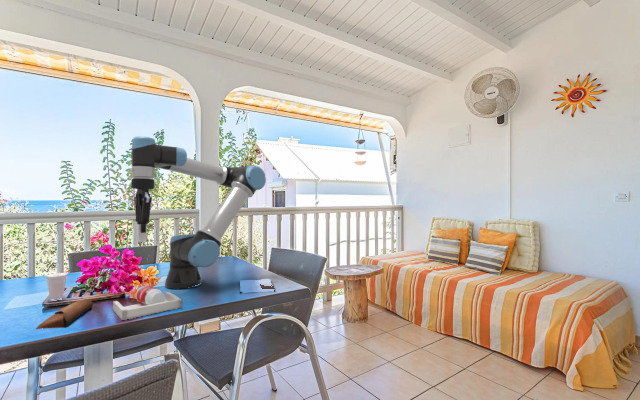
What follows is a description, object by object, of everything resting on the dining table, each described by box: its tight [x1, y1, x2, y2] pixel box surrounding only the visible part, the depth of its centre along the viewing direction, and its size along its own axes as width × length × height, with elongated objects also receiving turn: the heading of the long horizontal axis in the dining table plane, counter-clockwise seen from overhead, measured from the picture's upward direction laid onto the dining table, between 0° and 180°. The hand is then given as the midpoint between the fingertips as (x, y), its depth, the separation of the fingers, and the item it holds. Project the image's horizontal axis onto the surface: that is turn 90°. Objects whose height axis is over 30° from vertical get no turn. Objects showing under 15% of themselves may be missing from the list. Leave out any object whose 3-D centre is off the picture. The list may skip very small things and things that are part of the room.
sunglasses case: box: [35, 298, 94, 330], centre depth 103 cm, size 18×7×7 cm
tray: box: [112, 291, 183, 321], centre depth 112 cm, size 18×13×3 cm
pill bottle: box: [135, 285, 165, 305], centre depth 114 cm, size 6×6×11 cm
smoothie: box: [45, 262, 69, 300], centre depth 120 cm, size 6×6×14 cm
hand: (142, 241), depth 119 cm, fingers closed
